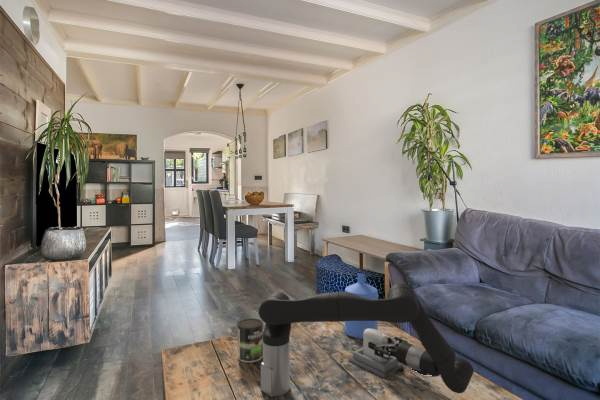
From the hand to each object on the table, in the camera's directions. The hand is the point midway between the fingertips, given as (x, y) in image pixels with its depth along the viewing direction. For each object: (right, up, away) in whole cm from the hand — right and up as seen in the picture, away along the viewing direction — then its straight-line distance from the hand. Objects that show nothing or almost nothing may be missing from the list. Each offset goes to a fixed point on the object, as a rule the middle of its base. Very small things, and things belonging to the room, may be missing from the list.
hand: (375, 341), depth 139 cm
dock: (0, -9, +1) cm, 9 cm away
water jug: (-1, -8, +30) cm, 31 cm away
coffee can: (-50, -9, +7) cm, 51 cm away
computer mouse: (+17, -10, -2) cm, 20 cm away
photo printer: (0, -8, 0) cm, 8 cm away
